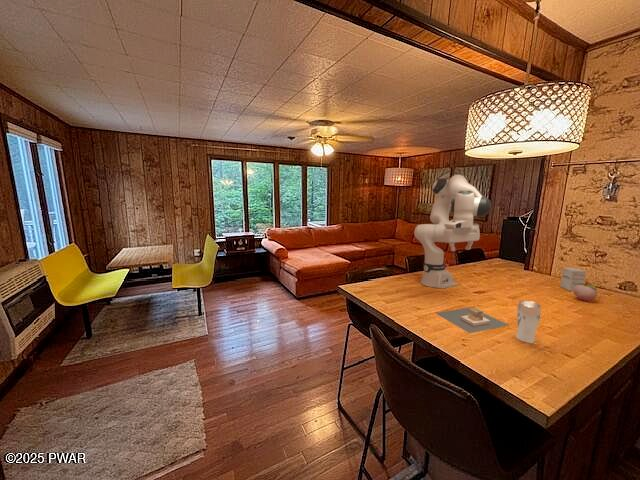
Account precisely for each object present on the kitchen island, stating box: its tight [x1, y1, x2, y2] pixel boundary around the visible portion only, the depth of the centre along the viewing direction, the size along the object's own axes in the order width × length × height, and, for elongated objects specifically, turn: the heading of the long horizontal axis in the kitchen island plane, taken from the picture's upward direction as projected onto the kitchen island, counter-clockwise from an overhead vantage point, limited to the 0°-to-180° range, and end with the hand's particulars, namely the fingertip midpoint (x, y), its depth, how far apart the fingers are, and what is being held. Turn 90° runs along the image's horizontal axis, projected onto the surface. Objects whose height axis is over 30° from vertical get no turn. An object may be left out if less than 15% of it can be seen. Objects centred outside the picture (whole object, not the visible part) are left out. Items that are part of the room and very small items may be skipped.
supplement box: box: [560, 267, 587, 292], centre depth 157 cm, size 7×7×13 cm
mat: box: [435, 306, 510, 334], centre depth 119 cm, size 22×20×1 cm
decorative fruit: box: [572, 282, 598, 302], centre depth 139 cm, size 9×8×10 cm
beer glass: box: [515, 300, 542, 345], centre depth 100 cm, size 7×7×15 cm
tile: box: [461, 315, 490, 327], centre depth 116 cm, size 2×7×9 cm
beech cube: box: [468, 307, 484, 321], centre depth 115 cm, size 4×4×4 cm
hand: (460, 250), depth 133 cm, fingers open, 8 cm apart
